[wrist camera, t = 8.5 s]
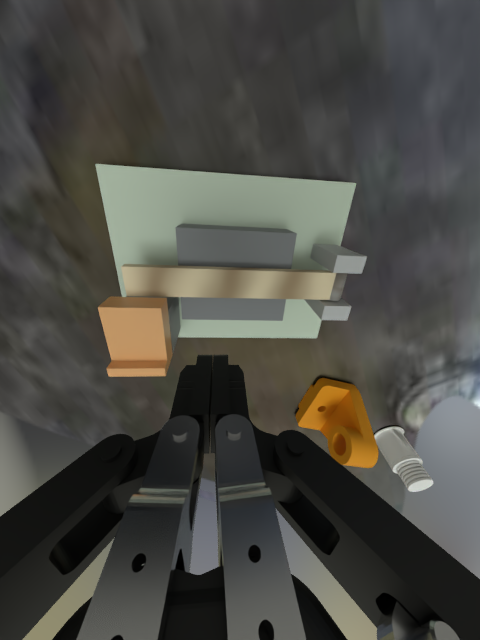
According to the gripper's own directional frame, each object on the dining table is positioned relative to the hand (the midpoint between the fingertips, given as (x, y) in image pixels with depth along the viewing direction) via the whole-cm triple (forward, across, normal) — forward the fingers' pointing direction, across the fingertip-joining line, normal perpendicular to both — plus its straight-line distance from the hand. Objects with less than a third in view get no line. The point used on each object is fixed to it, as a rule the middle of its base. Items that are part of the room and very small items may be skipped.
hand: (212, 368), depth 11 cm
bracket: (+21, -20, +25) cm, 38 cm away
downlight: (+21, -38, +37) cm, 57 cm away
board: (+21, -1, 0) cm, 21 cm away
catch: (+13, +8, +5) cm, 16 cm away
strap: (+14, -2, 0) cm, 15 cm away
